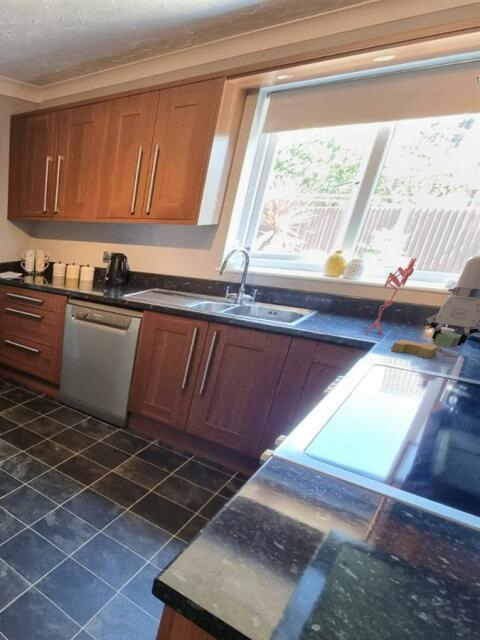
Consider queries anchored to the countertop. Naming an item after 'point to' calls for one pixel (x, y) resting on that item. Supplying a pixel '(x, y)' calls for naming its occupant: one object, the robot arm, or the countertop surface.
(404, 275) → the figurine
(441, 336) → the green pad
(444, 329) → the smoothie
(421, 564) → the countertop surface
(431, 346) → the sand pad
